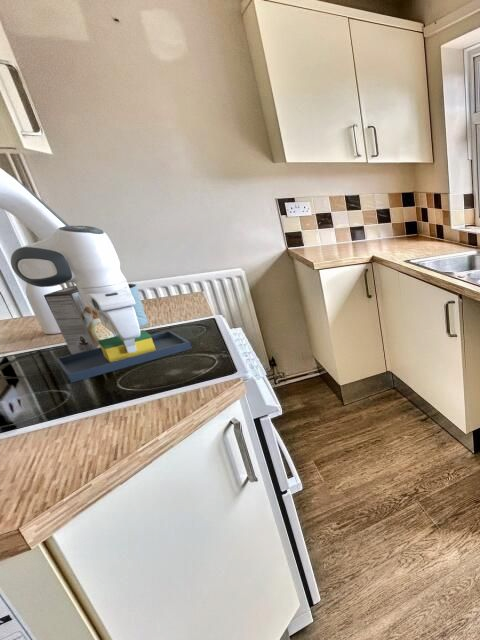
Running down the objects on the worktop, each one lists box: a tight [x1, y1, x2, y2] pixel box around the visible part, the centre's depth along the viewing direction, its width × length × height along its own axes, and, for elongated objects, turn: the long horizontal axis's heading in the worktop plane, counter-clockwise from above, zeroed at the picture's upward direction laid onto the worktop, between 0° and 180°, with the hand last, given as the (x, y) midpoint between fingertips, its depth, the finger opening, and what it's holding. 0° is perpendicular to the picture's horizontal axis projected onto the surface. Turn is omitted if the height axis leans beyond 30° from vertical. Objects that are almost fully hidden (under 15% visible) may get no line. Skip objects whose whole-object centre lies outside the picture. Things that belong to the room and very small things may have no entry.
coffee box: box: [44, 285, 114, 355], centre depth 110 cm, size 9×6×16 cm
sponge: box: [98, 329, 156, 362], centre depth 106 cm, size 9×6×4 cm, turn 143°
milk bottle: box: [25, 282, 63, 335], centre depth 123 cm, size 8×8×20 cm
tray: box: [54, 330, 192, 384], centre depth 106 cm, size 23×15×2 cm, turn 143°
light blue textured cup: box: [128, 283, 149, 328], centre depth 126 cm, size 10×10×12 cm
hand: (128, 348), depth 106 cm, fingers closed on sponge, 6 cm apart
